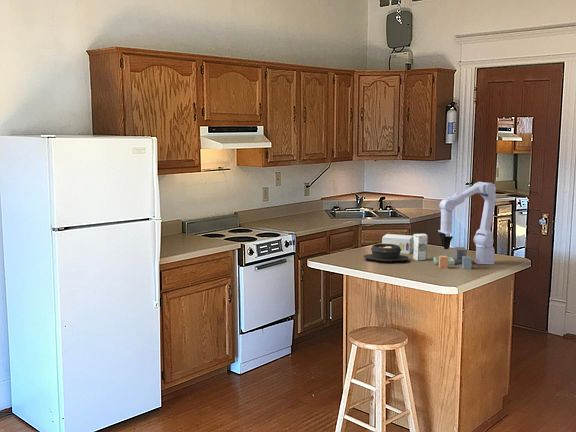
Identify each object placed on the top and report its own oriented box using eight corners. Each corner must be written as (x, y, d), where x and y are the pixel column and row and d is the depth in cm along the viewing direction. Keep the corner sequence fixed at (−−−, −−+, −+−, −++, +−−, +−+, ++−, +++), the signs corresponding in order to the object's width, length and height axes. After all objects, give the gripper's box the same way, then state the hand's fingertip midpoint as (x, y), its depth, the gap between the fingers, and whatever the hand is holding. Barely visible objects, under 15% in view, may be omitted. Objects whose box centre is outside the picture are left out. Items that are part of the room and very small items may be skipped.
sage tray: (451, 261, 346) (451, 257, 345) (454, 265, 336) (454, 261, 336) (433, 261, 347) (433, 257, 346) (435, 264, 337) (435, 260, 336)
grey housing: (464, 260, 347) (465, 246, 346) (468, 264, 337) (468, 250, 336) (451, 260, 348) (452, 246, 347) (455, 264, 337) (455, 250, 336)
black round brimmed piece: (361, 262, 342) (361, 247, 341) (365, 256, 360) (365, 242, 359) (407, 265, 336) (408, 249, 335) (409, 258, 354) (409, 243, 353)
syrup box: (421, 258, 354) (422, 233, 352) (426, 260, 348) (427, 234, 346) (412, 259, 352) (413, 233, 350) (417, 261, 347) (418, 235, 345)
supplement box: (381, 252, 373) (381, 236, 372) (386, 248, 386) (386, 233, 384) (409, 254, 367) (410, 238, 366) (414, 250, 379) (414, 235, 378)
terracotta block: (446, 267, 331) (446, 255, 331) (447, 268, 327) (448, 257, 327) (438, 266, 332) (439, 255, 331) (439, 268, 328) (440, 257, 327)
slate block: (469, 267, 330) (470, 256, 329) (471, 269, 326) (471, 257, 325) (462, 267, 331) (462, 256, 330) (463, 268, 327) (463, 257, 326)
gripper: (436, 220, 337) (435, 245, 338) (440, 224, 322) (439, 250, 324) (450, 220, 336) (449, 245, 338) (454, 224, 322) (453, 250, 323)
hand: (445, 247), depth 331 cm, fingers open, 7 cm apart
